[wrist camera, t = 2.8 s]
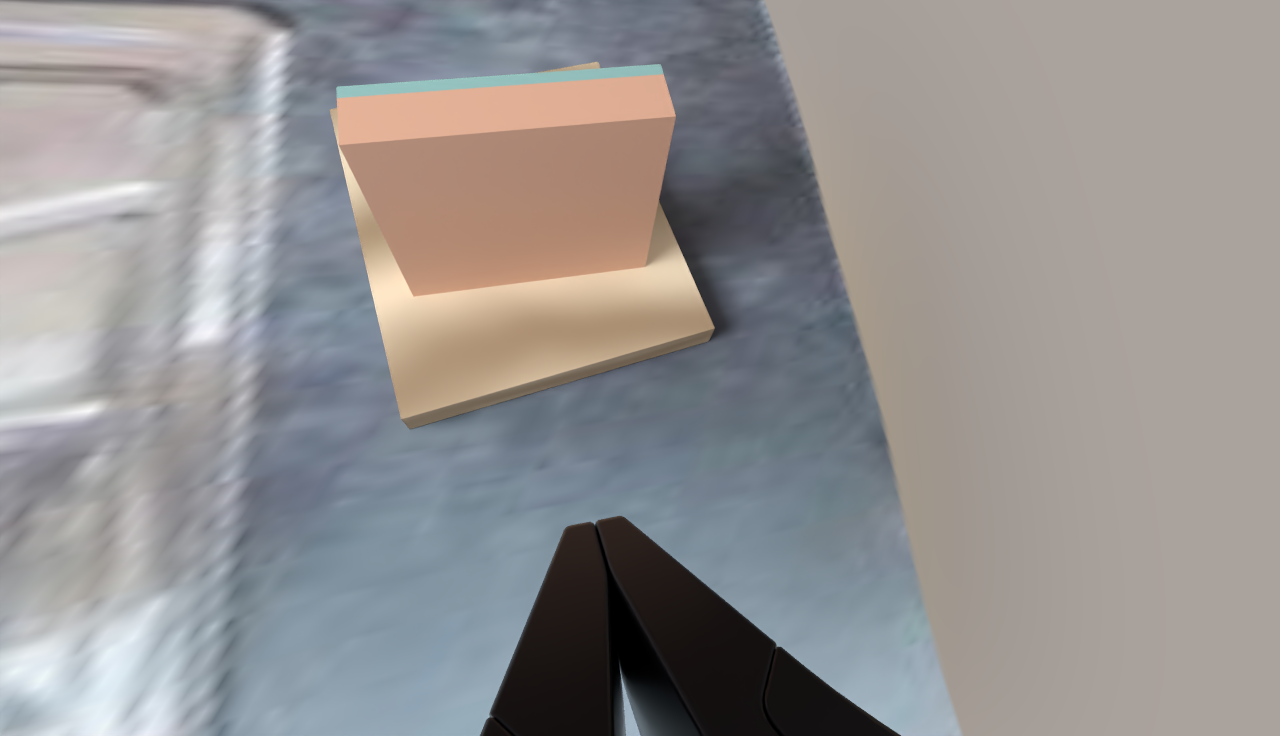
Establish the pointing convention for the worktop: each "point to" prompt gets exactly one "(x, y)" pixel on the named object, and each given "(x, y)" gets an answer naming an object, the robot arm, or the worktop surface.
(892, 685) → the worktop surface
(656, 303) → the beech board
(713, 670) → the robot arm
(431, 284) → the terracotta tile
